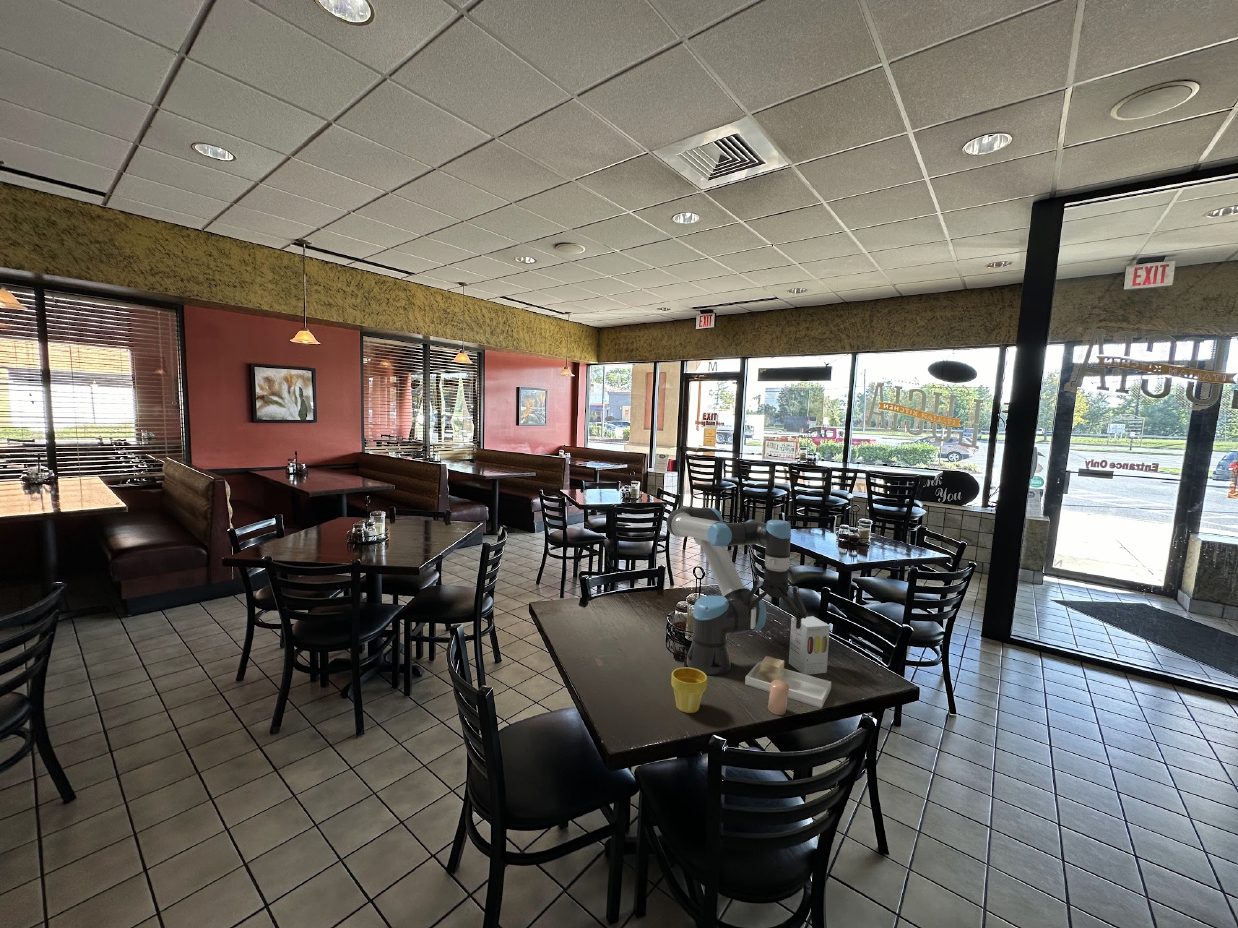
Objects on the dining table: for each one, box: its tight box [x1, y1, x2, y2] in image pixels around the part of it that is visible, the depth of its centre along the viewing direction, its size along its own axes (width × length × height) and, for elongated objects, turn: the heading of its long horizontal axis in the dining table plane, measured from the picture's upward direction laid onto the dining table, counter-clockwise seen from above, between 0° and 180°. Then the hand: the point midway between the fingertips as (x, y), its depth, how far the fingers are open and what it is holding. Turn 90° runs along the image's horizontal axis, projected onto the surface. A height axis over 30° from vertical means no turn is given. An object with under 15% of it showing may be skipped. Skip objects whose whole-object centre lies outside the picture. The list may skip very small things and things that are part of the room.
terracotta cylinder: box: [767, 680, 789, 716], centre depth 148 cm, size 5×5×8 cm
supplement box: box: [788, 615, 831, 675], centre depth 176 cm, size 10×9×17 cm
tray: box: [744, 661, 832, 709], centre depth 163 cm, size 24×14×3 cm, turn 57°
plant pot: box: [670, 666, 708, 714], centre depth 149 cm, size 10×10×10 cm
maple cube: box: [760, 655, 785, 683], centre depth 166 cm, size 6×6×6 cm
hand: (773, 632), depth 164 cm, fingers open, 13 cm apart
